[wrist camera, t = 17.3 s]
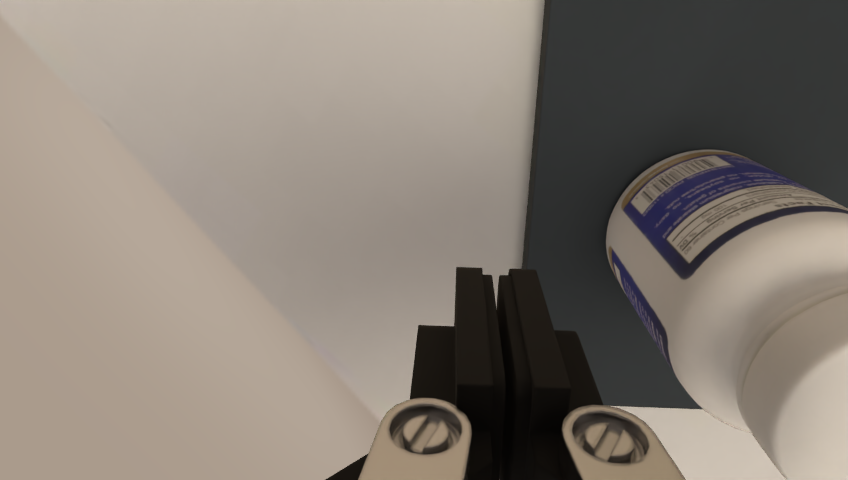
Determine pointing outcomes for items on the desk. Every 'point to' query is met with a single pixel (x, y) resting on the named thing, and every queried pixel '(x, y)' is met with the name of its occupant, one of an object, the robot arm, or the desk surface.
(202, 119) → the desk surface
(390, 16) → the desk surface
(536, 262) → the mat
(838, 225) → the pill bottle
